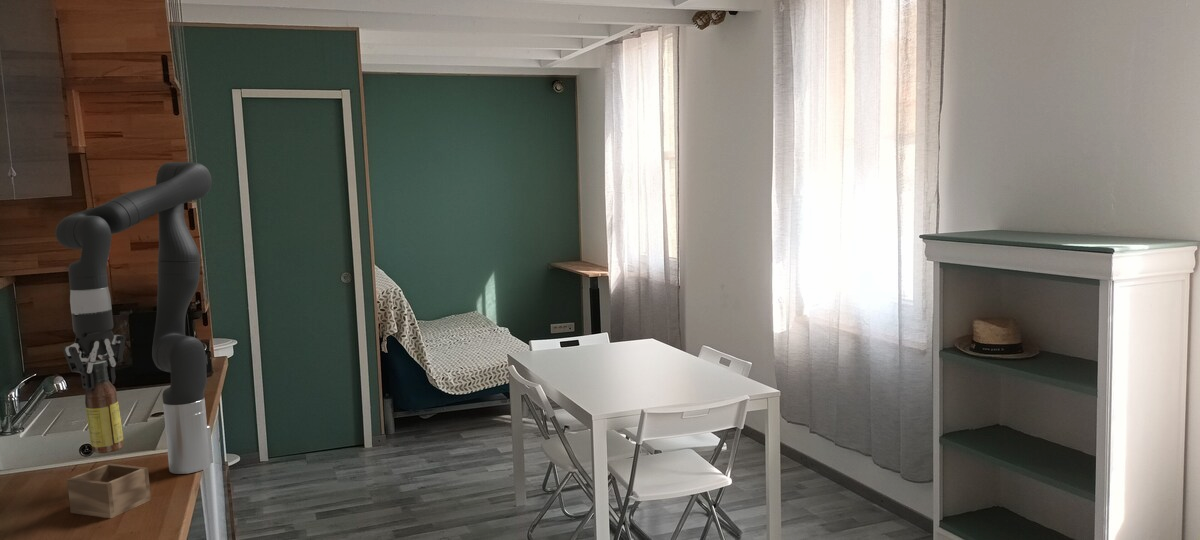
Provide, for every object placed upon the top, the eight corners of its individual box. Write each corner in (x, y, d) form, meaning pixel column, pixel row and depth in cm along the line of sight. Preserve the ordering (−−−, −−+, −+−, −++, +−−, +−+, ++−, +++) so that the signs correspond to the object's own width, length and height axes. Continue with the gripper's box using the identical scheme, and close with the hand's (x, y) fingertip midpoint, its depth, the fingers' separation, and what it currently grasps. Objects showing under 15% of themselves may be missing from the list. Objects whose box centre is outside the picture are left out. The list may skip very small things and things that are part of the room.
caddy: (112, 495, 199) (108, 463, 198) (151, 500, 195) (147, 467, 194) (70, 512, 189) (66, 479, 188) (110, 518, 185) (107, 484, 184)
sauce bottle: (117, 443, 195) (108, 356, 193) (129, 448, 191) (120, 359, 189) (85, 451, 190) (76, 362, 188) (97, 456, 186) (87, 365, 184)
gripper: (107, 303, 194) (114, 378, 197) (47, 314, 181) (56, 394, 183) (132, 304, 192) (140, 379, 194) (74, 315, 179) (83, 396, 181)
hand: (99, 386), depth 189 cm, fingers closed on sauce bottle, 4 cm apart
